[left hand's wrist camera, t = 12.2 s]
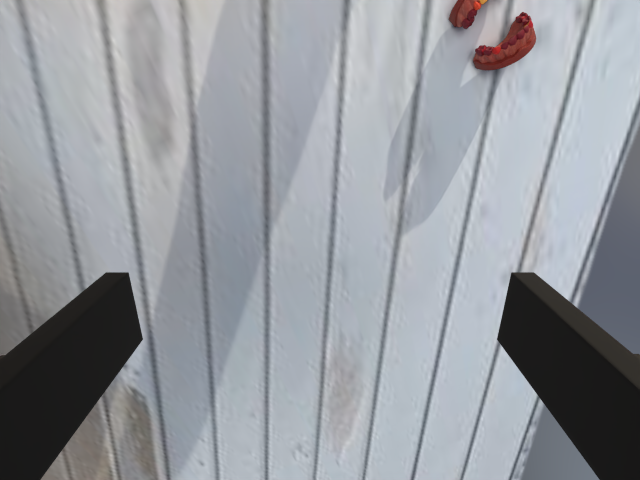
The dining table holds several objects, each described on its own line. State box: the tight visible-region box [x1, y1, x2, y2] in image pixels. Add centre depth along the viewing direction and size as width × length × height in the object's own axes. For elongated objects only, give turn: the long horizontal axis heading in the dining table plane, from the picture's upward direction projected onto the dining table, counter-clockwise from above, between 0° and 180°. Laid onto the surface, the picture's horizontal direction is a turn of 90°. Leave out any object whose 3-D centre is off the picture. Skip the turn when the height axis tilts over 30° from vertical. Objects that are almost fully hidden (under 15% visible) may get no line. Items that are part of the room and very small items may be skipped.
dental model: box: [449, 0, 536, 70], centre depth 34 cm, size 6×4×8 cm
